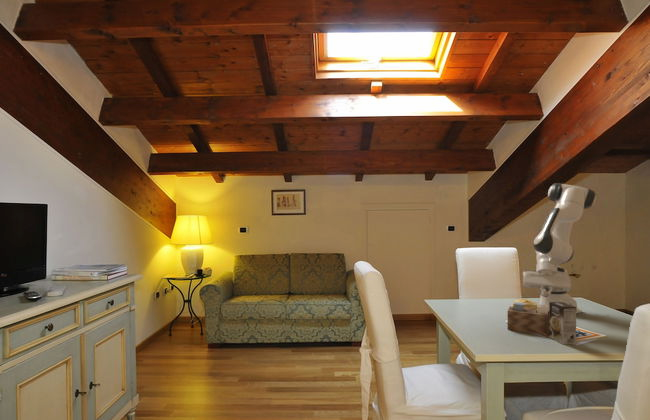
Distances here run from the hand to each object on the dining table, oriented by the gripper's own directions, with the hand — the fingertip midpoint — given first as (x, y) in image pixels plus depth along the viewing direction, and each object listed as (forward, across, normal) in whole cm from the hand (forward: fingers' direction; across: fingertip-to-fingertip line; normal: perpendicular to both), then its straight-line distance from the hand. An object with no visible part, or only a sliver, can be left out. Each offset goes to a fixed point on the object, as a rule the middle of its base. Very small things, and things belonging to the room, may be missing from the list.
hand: (546, 295), depth 185 cm
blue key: (+6, -11, +6) cm, 14 cm away
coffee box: (+20, +6, +4) cm, 22 cm away
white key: (+6, -1, +6) cm, 9 cm away
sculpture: (-1, -9, +25) cm, 27 cm away
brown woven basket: (+12, -6, +12) cm, 18 cm away
